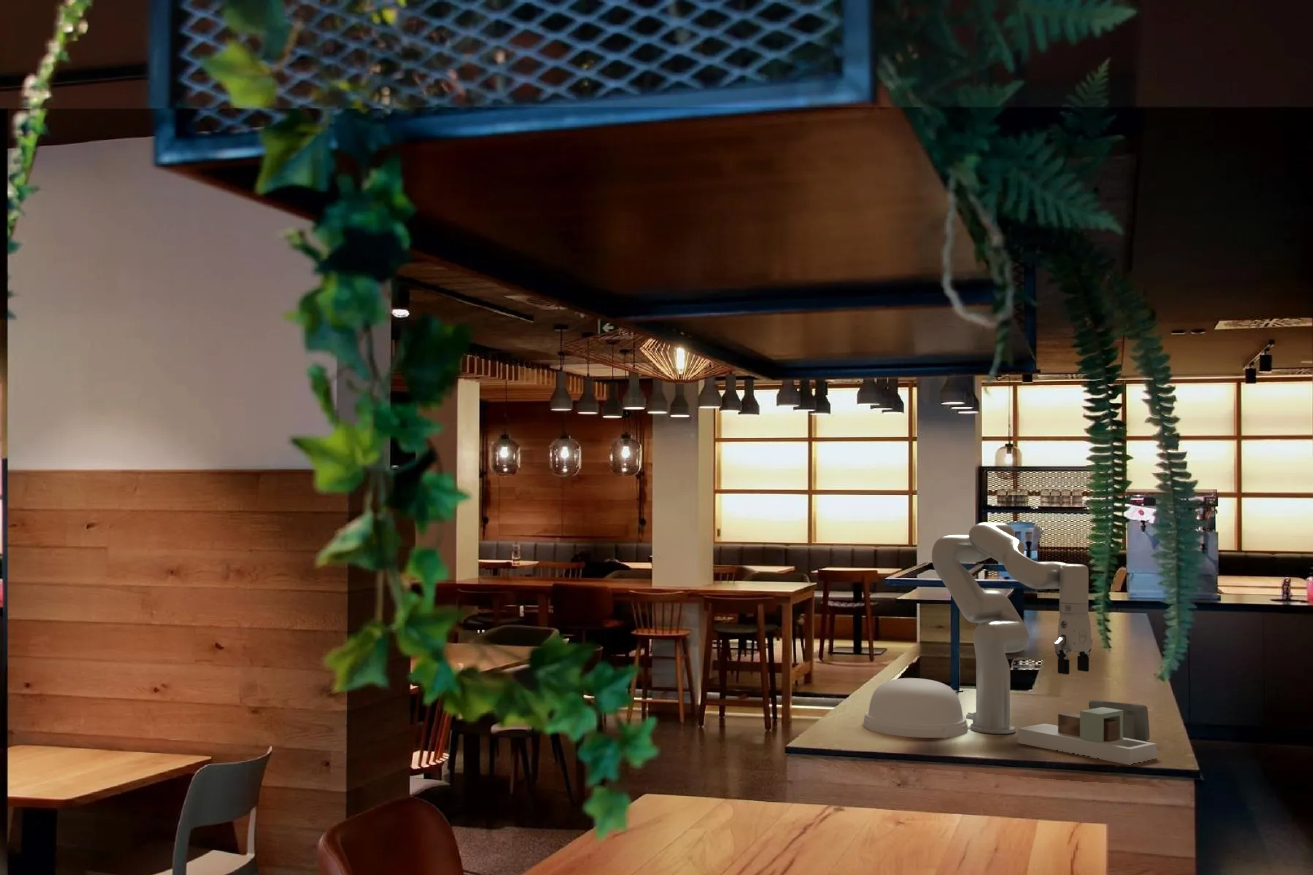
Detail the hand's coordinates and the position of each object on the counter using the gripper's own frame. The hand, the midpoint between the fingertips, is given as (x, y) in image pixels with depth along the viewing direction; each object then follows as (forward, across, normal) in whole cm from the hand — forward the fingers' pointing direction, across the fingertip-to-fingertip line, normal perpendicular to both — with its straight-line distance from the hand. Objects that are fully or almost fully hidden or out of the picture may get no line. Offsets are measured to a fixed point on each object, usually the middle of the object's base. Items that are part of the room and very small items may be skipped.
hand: (1073, 672), depth 338 cm
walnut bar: (+16, -1, -5) cm, 17 cm away
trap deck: (+20, -1, -4) cm, 21 cm away
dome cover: (+21, -12, +44) cm, 50 cm away
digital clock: (+21, +22, -1) cm, 31 cm away
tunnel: (+16, -1, -9) cm, 19 cm away
